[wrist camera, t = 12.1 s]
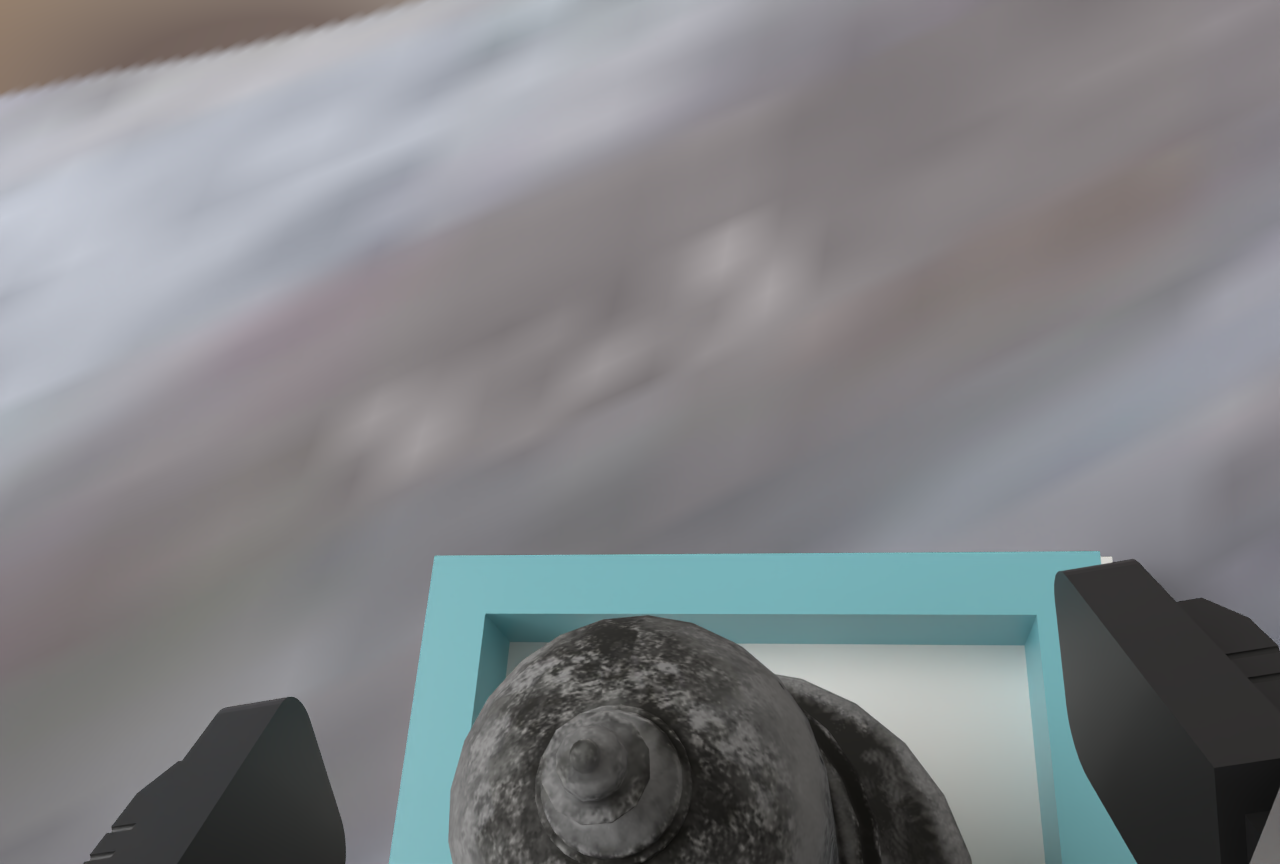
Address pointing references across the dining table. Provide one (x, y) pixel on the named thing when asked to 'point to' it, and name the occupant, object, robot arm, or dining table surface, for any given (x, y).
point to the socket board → (799, 670)
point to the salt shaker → (684, 762)
